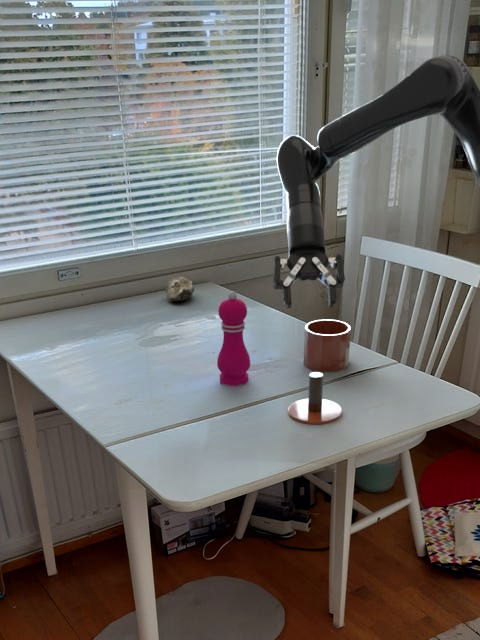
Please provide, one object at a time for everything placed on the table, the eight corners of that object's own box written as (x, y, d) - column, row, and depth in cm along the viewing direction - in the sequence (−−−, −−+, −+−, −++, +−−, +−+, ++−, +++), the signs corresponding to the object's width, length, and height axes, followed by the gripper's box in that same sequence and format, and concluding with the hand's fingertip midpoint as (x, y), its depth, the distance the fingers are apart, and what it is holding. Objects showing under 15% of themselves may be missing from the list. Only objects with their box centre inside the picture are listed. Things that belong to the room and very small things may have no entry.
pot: (347, 355, 184) (350, 319, 179) (348, 372, 176) (351, 336, 171) (304, 354, 185) (305, 319, 180) (303, 371, 177) (304, 335, 172)
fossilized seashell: (187, 297, 213) (203, 292, 221) (176, 273, 212) (193, 270, 220) (166, 308, 217) (183, 303, 225) (155, 286, 216) (173, 282, 224)
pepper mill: (256, 379, 173) (256, 289, 162) (238, 391, 168) (237, 299, 157) (229, 373, 176) (227, 284, 165) (211, 384, 171) (207, 293, 160)
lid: (341, 404, 162) (343, 364, 157) (341, 428, 153) (344, 387, 149) (289, 402, 163) (290, 363, 158) (286, 426, 154) (287, 385, 150)
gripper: (272, 222, 156) (276, 298, 153) (342, 220, 157) (348, 296, 154) (269, 243, 164) (273, 315, 161) (337, 241, 164) (342, 313, 161)
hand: (310, 306), depth 157 cm, fingers open, 8 cm apart
